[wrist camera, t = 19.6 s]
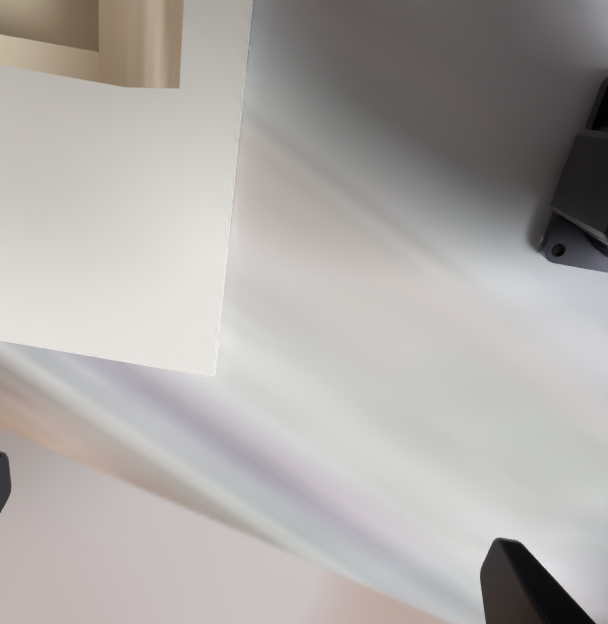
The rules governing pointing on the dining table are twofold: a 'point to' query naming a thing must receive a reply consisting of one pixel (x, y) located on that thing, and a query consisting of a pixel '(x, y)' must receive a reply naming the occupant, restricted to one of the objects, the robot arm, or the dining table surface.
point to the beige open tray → (95, 40)
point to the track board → (124, 203)
